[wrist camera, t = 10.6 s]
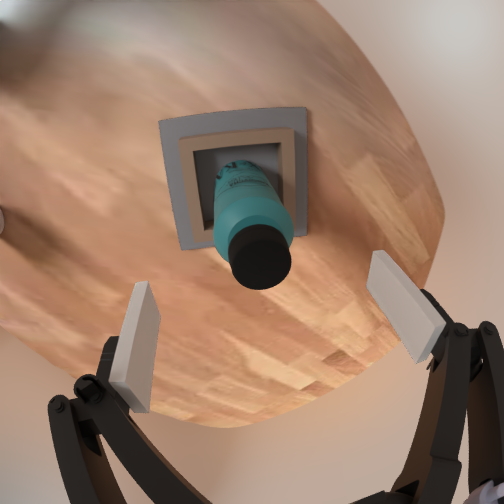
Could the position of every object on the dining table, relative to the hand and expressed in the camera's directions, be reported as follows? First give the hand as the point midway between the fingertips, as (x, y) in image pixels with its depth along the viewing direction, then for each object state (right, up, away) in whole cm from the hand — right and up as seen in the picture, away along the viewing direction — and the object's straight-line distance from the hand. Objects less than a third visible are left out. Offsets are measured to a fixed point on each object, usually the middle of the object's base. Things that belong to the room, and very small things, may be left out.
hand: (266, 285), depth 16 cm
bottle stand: (-3, +11, +20) cm, 23 cm away
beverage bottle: (-2, +11, +19) cm, 22 cm away
